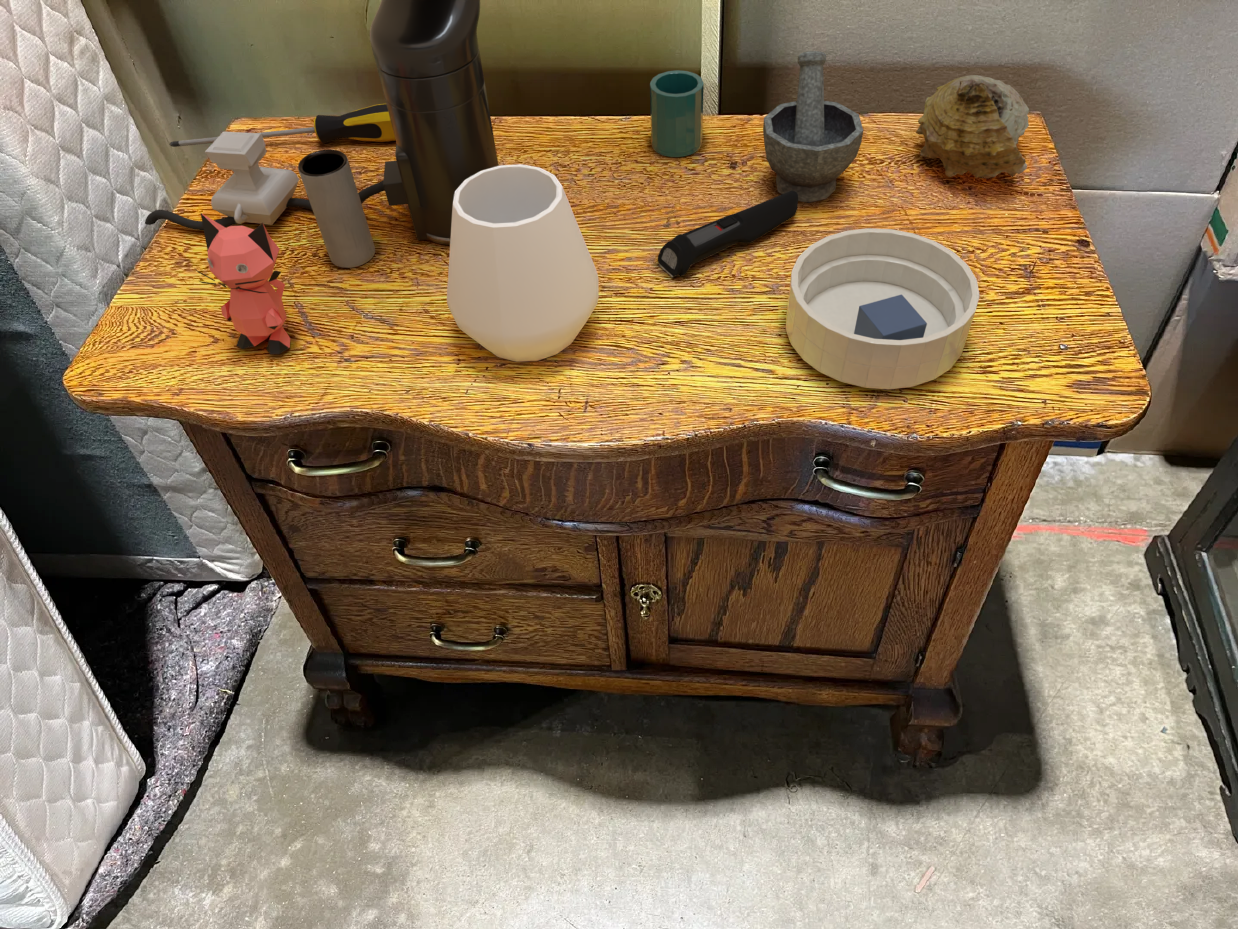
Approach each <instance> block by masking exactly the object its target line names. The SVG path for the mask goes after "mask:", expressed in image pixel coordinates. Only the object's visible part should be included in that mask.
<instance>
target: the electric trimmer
mask: <svg viewBox="0 0 1238 929" xmlns="http://www.w3.org/2000/svg"><path fill="white" fill-rule="evenodd" d="M798 206H799V201H798V194H797V192H796V191H789V192H786V193H784V194H779V195H777V196H775V197H772V198H769V199H767V200H764V201H763V202H760V203H757V204H755V205H753V206H750V207H748V208H745V209H743V210H740V211H737V212H735V213H732V214H729V215H725V216H723V217H721V218H718V219H716V220H713V221H711V222H708V223H706V224H703V225H701V226H699V227H695V228H694V229H691V230H689V231H686V232H684V233H679V234H677V235H675V237H673V238H672V239H671V240H669V241H667V242H666V243H664V245H663V246H662V247H661V248H660V250H659V253H658V255H657V263H658V265H659V268H662V270H663V271H665V272H666V273H667V274H668V275H669V276H670V277H671V278H674V277H677V276H679V277H683V276H685V275H686V274H687V273H688V271H689V270H690V269H691V267H692V266H693V265H695V264H697V263H699V262H701V261H703V260H705V259H707V258H710V257H711V256H713V255H716V254H718V253H720V252H722V251H724V250H726V249H728V248H730V247H732V246H735V245H736V244H752V243H754V242H755V241H756V240H758V239H760V238H761V237H763V236H765V235H767V234H768V233H770V232H772V231H773V230H774V229H776V228H778V227H779V226H781V225H782V224H784V223H786V222H787V221H789V220H790V219H792V218H794V217H795V215H796V214H797V212H798V208H799V207H798Z"/></svg>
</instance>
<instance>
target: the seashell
mask: <svg viewBox="0 0 1238 929" xmlns="http://www.w3.org/2000/svg"><path fill="white" fill-rule="evenodd" d="M1029 112H1030V108H1029V107H1028V105H1027V104H1026V103H1025V101H1024V99H1023V97H1022V96H1021V94H1020V93H1019V92H1018V91H1017V90H1016V89H1014V87H1012V85H1010V84H1006V83H1005V82H1003V81H1002V80H999V79H995V78H992V77H989V76H983V75H977V74H971V75H963V76H960V77H956V78H954V79H952V80H950V81H949V82H947V83H945V84H943V85H940V86H938V87H936V90H935V92H934V94H932V95H931V96H927V97H926V98H925V102H924V110H923V114H922V115H921V116H920V117H919V118H918V121H917V122H918V125H919V126H918V128H917V129H916V130H915V133H916V134H917V135H922V136H923V138H924V145H923V147H922V148H921V149H920V151H919V155H920V157H922V158H923V157H924V158H929V159H934V158H938V159H940V160H941V162H942V165H943V168H944V171H945V176H947V177H948V178H951V177H954V176H956V175H960V176H963V175H964V174H966V173H967V172H968V173H970V174H971V175H972V176H974V178H975V179H989V178H990V179H991V178H996V177H997V176H998V175H999V174H1001V173H1007V174H1008V175H1009V176H1010V177H1011V178H1014V177H1015V175H1016V174H1017V175H1020V174H1022V173H1024V172H1025V171H1026V170H1027V169H1028V164H1027V162H1026V159H1025V158H1024V157H1023V154H1022V153H1021V151H1020V150H1019V148H1018V147H1017V145H1018V144H1019V142H1020V137H1022V136H1024V135H1025V132H1026V130H1027V129H1028V128H1029V127H1030V124H1029V116H1028V114H1029Z"/></svg>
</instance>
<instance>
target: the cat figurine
mask: <svg viewBox="0 0 1238 929" xmlns="http://www.w3.org/2000/svg"><path fill="white" fill-rule="evenodd" d="M200 217H201V221H202V223H203V229H204V230H203V233H204V239H205V245H206V250H207V257H206V261H207V263H208V269H209V272H210V273H211V274H212V275H213V276H214V277H215V278H216V279H217V280H219V282H217V283H218V285H220V286H222V287H223V288H225V289H228V290H229V289H230V294H229V300H227V302H225V303H224V304H223V305H222V306H221V307H220V311H221V315H222V317H223V318H224V319H226V320H227V321H228V322H232V325H233V328H234V331H237V332H238V333H240V334H239V337H238V340H237V343H236V347H238V348H240V349H249V348H253V347H256V346H257V345H259V344H261V343H262V342H264V341H265V340H268V342H267V346H266V348H265V350H266V351H267V352H268V354H270V355H281V354H283V353H284V352H286V351H288V350H289V349H290V347H291V337H290V336H289V334H288V333H287V331H286V330H285V329H284V327H283V326H284V323H285V322H286V320H287V319H288V317H287V313H286V309H285V305H284V303H283V295H284V290H285V287H286V283H284V282H283V281H281V280H279V279H278V277H279V276H280V275H281V273H282V271H281V270H274V269H275V266H276V262H277V260H278V256H279V252H280V249H281V248H280V247H279V245H278V244H277V243H276V242H275V241H274V240H273V239H272V237H271V236H270V235H269V234H270V233H269V232H268V230H267V228H266V226H265V224H263V223H261V224H259V225H258V226H257V227H255V229H253V228H251V227H248V226H245V225H232V226H229V227H224V226H222V225H220V224H219V223H217V222H215V221H214V220H215V219H212V218H210V217H208V216H207V215H205V214H203V213H202V212H200ZM194 270H195V271H196V272H197V273H198V274H201V275H202V276H204V277H206V278H208V279H210V280H211V281H213V282H210V281H209V282H207V281H202V280H199V283H201V284H207V285H212V286H213V285H214V286H217V283H216V280H215V279H214V278H212V277H211V276H208V275H206V274H205V273H203V272H201V271H199V270H197V269H196V268H194ZM274 287H275V288H274ZM269 336H270V337H269ZM268 338H269V339H268Z"/></svg>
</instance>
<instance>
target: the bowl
mask: <svg viewBox="0 0 1238 929" xmlns="http://www.w3.org/2000/svg"><path fill="white" fill-rule="evenodd" d="M789 280H790V281H789V289H788V297H787V304H786V314H785V315H786V316H785V331H786V334H787V337H788V340H789V343H790V345H791V346H792V348H793V349H794V350H795V352H796V353H797V354H798V355H799V357H800V358H801V359H802V360H803V361H804V362H805V363H807V364H808V365H809V366H810V367H812V368H813V369H815V370H816V371H818V372H819V373H821V374H823V375H824V376H827V377H829V378H831V379H833V380H836V381H838V382H840V383H845V384H849V385H852V386H856V387H859V388H860V387H861V388H866V389H877V390H895V389H897V390H898V389H905V388H913V387H917V386H919V385H923V384H925V383H928V382H932V381H933V380H936V379H937V378H939V377H940V376H942V375H943V374H945V373H947V372H948V371H949V370H951V369H952V368H953V367H954V365H955V364H956V363H957V361H958V360H959V359H960V358H961V357H962V354H963V351H964V348H965V345H966V342H967V339H968V336H969V333H970V330H971V327H972V323H973V320H974V318H975V314H976V311H977V308H978V304H979V301H980V290H979V283H978V278H976V276H975V274H974V272H973V271H972V269H971V267H970V265H969V264H967V262H966V261H964V260H963V259H962V258H961V257H960V256H959V255H958V254H957V253H955V252H954V251H953V250H951V249H949V248H947V247H946V246H945V245H943V244H941V243H939V242H938V241H936V240H934V239H930V238H928V237H925V236H922V235H920V234H917V233H913V232H908V231H903V230H899V229H892V228H875V227H874V228H872V227H867V228H857V229H850V230H849V229H848V230H844V231H840V232H837V233H834V234H830V235H827V236H824V237H823V238H821V239H819V240H817V241H815V242H813V243H812V244H810V245H808V247H807V248H806V249H805V250H804V251H803V252H801V254H800V255H799V256H798V257H797V259H796V261H795V263H794V265H793V267H792V269H791V272H790V279H789ZM901 294H902V295H903V296H904V297H905V299H906V300H907V301H908V302H909V303H910V304H911V305H912V307H913V308H914V309H915V310H916V311H917V312H918V313H919V315H920V316H921V317H922V318H923V319H924V320H925V321H926V323H927V326H926V329H925V333H924V337H923V338H915V339H906V340H888V339H874V338H869V337H865V336H861V335H856V334H854V331H855V326H856V320H857V315H858V310H859V306H861V305H865V304H868V303H872V302H876V301H879V300H883V299H887V298H890V297H894V296H897V295H901Z"/></svg>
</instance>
